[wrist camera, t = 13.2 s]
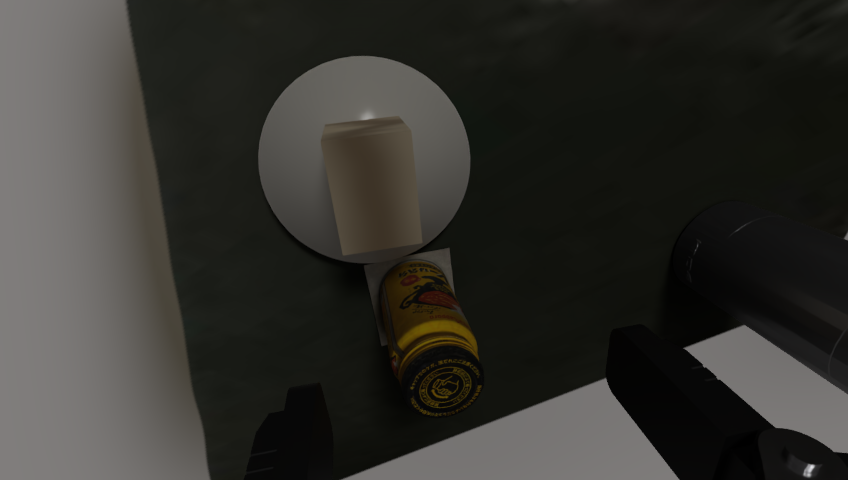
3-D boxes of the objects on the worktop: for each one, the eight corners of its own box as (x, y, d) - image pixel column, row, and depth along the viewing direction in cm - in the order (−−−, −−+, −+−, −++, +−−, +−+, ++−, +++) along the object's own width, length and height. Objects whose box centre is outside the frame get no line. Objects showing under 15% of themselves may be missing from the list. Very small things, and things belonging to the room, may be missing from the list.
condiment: (448, 246, 34) (496, 334, 24) (458, 326, 38) (503, 433, 27) (363, 263, 34) (372, 362, 23) (381, 343, 37) (396, 461, 27)
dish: (461, 46, 28) (466, 45, 27) (469, 241, 34) (473, 247, 33) (235, 67, 26) (230, 67, 25) (288, 269, 32) (286, 277, 31)
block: (398, 115, 28) (411, 130, 23) (408, 210, 31) (422, 243, 26) (325, 124, 27) (320, 141, 22) (343, 220, 30) (342, 255, 25)
